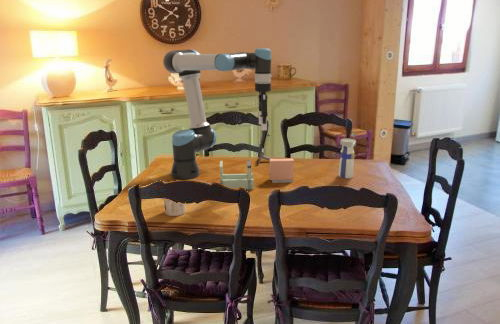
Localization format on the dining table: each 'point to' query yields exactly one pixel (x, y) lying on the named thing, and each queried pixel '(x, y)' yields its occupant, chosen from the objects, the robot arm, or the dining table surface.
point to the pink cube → (281, 169)
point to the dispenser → (237, 178)
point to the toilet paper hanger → (262, 156)
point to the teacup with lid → (174, 208)
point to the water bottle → (347, 157)
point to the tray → (282, 181)
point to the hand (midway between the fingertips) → (262, 127)
